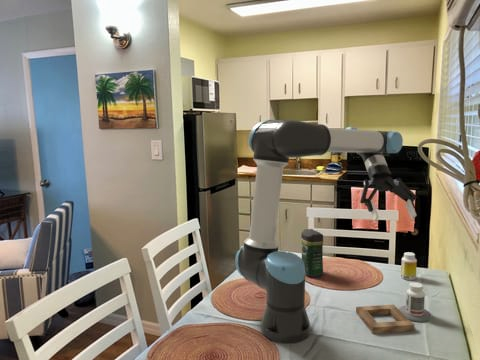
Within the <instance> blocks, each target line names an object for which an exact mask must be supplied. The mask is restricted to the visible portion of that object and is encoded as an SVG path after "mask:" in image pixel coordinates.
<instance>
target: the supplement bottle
mask: <svg viewBox="0 0 480 360" xmlns="http://www.w3.org/2000/svg"><path fill="white" fill-rule="evenodd" d="M417 263H418V260H417V258H416V254H415V253H414V252H412V251H411V252H409V251H408V252H404V253H403V256H402V258H401V268H400V269H401V271H400V278H402V279H403V280H407V281H414V280H416V279H417Z"/></svg>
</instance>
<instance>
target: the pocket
mask: <svg viewBox="0 0 480 360" xmlns="http://www.w3.org/2000/svg"><path fill="white" fill-rule="evenodd" d="M355 313H356V315H358V317H359V319H361V321H362V322H363V323H364V325H365V326H366V328H367V329H368V330H369V331H370V332H371V334H383V333H384V334H385V333H386V334H387V333H388V334H389V333H401V332H414V331H415V324H414V322H413V321H410V320H409V319H408V318H407V317H406V316H405V315H404V314H403V313H402V312H401V311H400V310H399V308H398V307H397V306H396V305H395V304H381V305H369V306H368V305H365V306H364V305H363V306H356V307H355ZM380 315H381V316H383V315H390V316H391V318H393V319H394V321H383V322H381V321H380V322H377V321H376V319H374V317H373V316H380Z"/></svg>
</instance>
